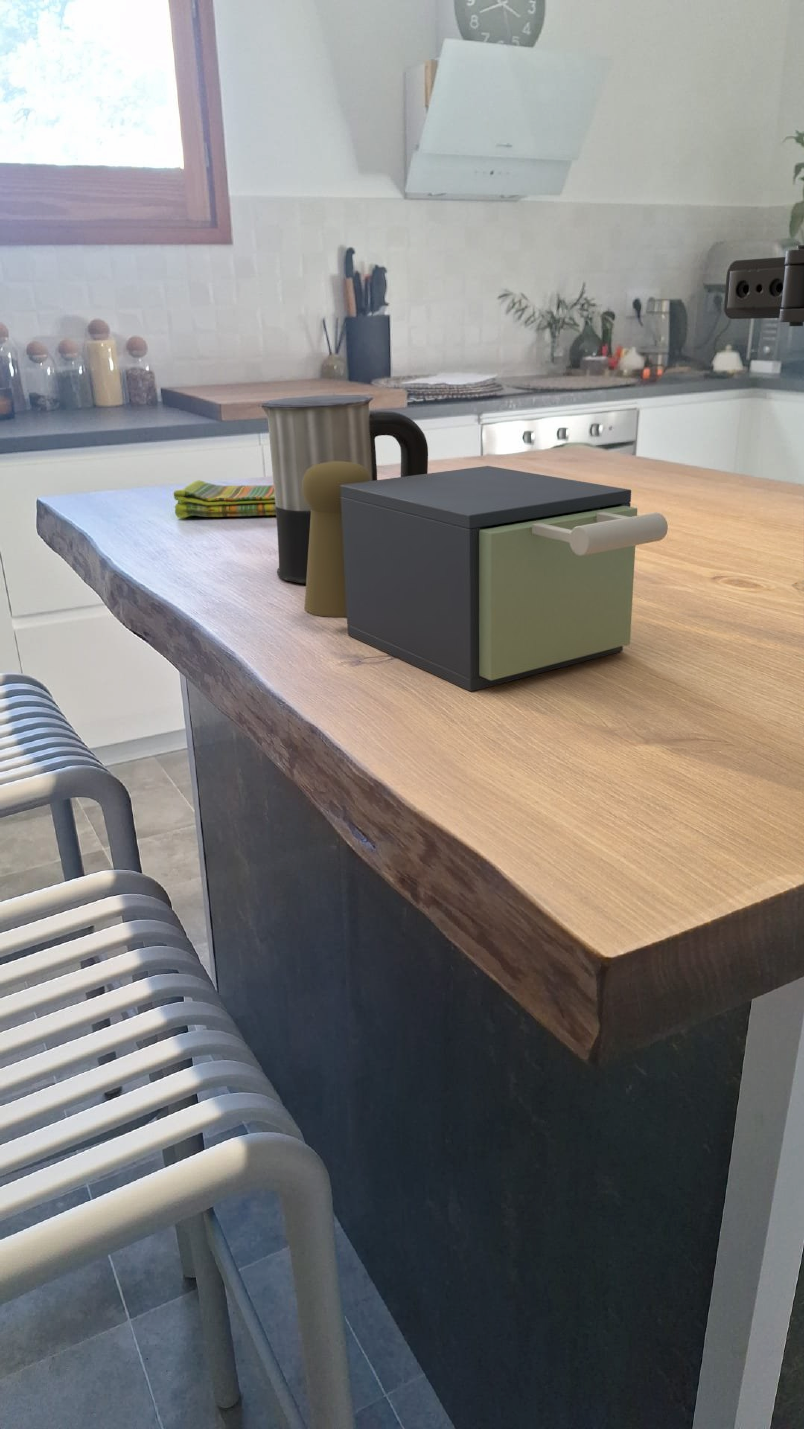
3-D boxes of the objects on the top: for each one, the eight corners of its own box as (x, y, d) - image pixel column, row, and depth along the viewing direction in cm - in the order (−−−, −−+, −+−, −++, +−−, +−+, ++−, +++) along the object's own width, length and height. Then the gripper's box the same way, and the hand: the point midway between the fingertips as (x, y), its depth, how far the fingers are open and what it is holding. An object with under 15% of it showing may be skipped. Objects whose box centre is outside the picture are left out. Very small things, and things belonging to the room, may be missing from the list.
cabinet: (623, 651, 67) (631, 489, 63) (470, 692, 61) (469, 515, 57) (487, 605, 79) (488, 465, 75) (347, 635, 72) (339, 484, 69)
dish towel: (196, 497, 129) (193, 471, 128) (477, 488, 129) (477, 462, 128) (172, 520, 115) (169, 492, 114) (488, 511, 115) (488, 482, 114)
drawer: (689, 664, 62) (702, 508, 58) (546, 705, 56) (550, 535, 53) (500, 601, 76) (501, 473, 73) (371, 629, 71) (365, 491, 67)
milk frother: (306, 592, 84) (294, 405, 78) (226, 559, 96) (211, 395, 91) (446, 566, 91) (444, 393, 86) (355, 538, 103) (349, 385, 98)
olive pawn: (295, 616, 77) (285, 469, 73) (314, 595, 83) (305, 457, 79) (373, 617, 76) (367, 468, 72) (387, 596, 82) (382, 456, 78)
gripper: (1366, 145, 34) (906, 197, 46) (1168, 114, 26) (689, 185, 39) (1299, 383, 36) (882, 370, 49) (1103, 413, 29) (675, 389, 42)
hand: (797, 288), depth 44 cm, fingers open, 8 cm apart
